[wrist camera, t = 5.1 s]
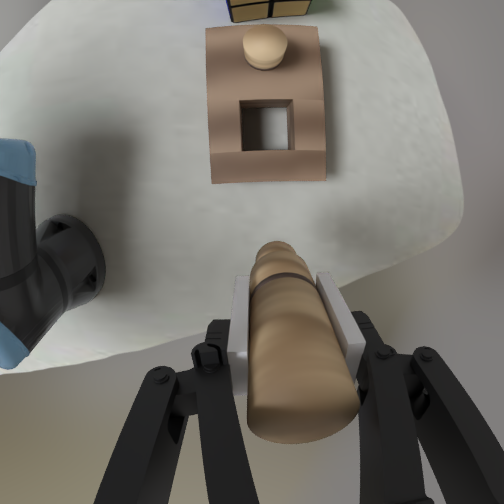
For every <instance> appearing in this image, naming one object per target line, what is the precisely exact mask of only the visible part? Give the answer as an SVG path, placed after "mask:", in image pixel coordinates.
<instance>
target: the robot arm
mask: <svg viewBox="0 0 504 504" xmlns="http://www.w3.org/2000/svg"><path fill="white" fill-rule="evenodd" d="M35 170H36V152H35V149H34V147H33V145H32V144H31V143H30V142H28V141H25V140H17V139H4V138H0V368H3V369H7V370H8V369H13V368H15V367H17V366H18V364H19V363H20V362H21V361H22V360H23V359H24V358H25V357H28V356H29V354H30V352H31V351H32V350H33V349H34V347H35V346H36V345H37V344H38V342H39V341H40V340H41V339H42V338H43V336H44V335H45V334H46V333H47V332H48V330H49V329H50V328H51V327H52V326H53V325H54V323H55V322H56V321H57V320H58V319H59V318H60V317H61V315H62V314H63V313H64V312H66V311H68V310H71V309H73V308H76V307H78V306H81V305H83V304H86V303H88V302H89V301H90V300H92V299H93V298H94V296H95V295H96V294H97V293H98V292H99V291H100V289H101V288H102V286H103V283H104V279H105V262H104V257H103V254H102V251H101V248H100V246H99V244H98V242H97V240H96V238H95V237H94V235H93V234H92V232H91V231H90V230H89V229H88V228H87V227H86V226H85V225H84V224H83V223H82V222H80V221H79V220H77V219H76V218H74V217H71V216H68V215H57V216H54V217H52V218H49V219H47V220H45V221H44V222H42V223H41V224H40V225H39V226H38V227H37V229H36V227H35V186H36V185H37V181H36V180H35ZM316 288H317V290H318V293H319V295H320V298H321V300H322V303H323V305H324V307H325V310H326V312H327V315H328V317H329V320H330V322H331V325H332V327H333V330H334V333H335V335H336V338H337V340H338V343H339V345H340V348H341V351H342V353H343V356H344V359H345V361H346V364H347V367H348V369H349V372H350V375H351V378H352V380H353V383H355V380H356V378H357V381H358V384H359V386H358V389H357V394H358V397H359V400H360V408H359V411H358V415H359V435H360V504H434V501H433V500H432V499H431V498H429V497H427V496H426V494H425V489H424V478H423V471H422V463H421V456H420V450H419V444H418V439H419V441H420V443H421V446H422V448H423V450H424V452H425V454H426V456H427V459H428V461H429V463H430V465H431V468H432V470H433V472H434V475H435V477H436V479H437V482H438V484H439V486H440V489H441V491H442V494H443V496H444V499H445V501H446V504H504V451H503V449H502V447H501V446H500V444H499V442H498V441H497V439H496V437H495V435H494V434H493V432H492V431H491V429H490V427H489V426H488V424H487V422H486V421H485V420H484V418H483V416H482V415H481V413H480V412H479V410H478V408H477V407H476V405H475V404H474V403H473V401H472V400H471V398H470V397H469V395H468V394H467V393H466V391H465V389H464V388H463V387H462V385H461V384H460V382H459V381H458V380H457V378H456V377H455V376H454V374H453V373H452V371H451V370H450V369H449V367H448V366H447V365H446V363H445V362H444V361H443V359H442V358H441V357H440V355H439V354H438V353H437V352H436V351H435V350H434V349H432V348H430V347H425V346H423V347H419V348H416V350H415V351H414V353H413V355H405V354H397V352H396V351H395V349H394V348H392V347H391V346H389V345H386V344H384V343H383V341H382V339H381V337H380V336H379V334H378V332H377V330H376V329H375V328H374V325H373V324H372V323H371V320H370V319H369V317H368V316H367V315H366V314H365V313H363V312H362V311H354V312H350V310H349V308H348V306H347V304H346V303H345V301H344V299H343V297H342V295H341V293H340V292H339V290H338V288H337V286H336V284H335V282H334V280H333V279H332V277H331V275H330V273H329V272H320V273H317V274H316ZM249 308H250V285H249V276H236V280H235V288H234V297H233V305H232V313H231V319H224V320H213V321H212V322H211V323H210V324H209V325H208V329H207V334H206V339H205V342H203V343H200V344H198V345H196V346H195V347H194V348H193V349H192V352H191V355H192V360H193V364H194V368H192V369H190V370H187V371H182V372H178V373H175V371H174V370H173V369H172V368H170V367H166V366H158V367H155V368H153V369H151V370H150V371H149V372H148V373H147V374H146V376H145V378H144V380H143V383H142V385H141V387H140V390H139V391H138V394H137V396H136V398H135V401H134V403H133V405H132V408H131V410H130V412H129V415H128V417H127V419H126V421H125V424H124V426H123V429H122V431H121V433H120V436H119V438H118V441H117V443H116V446H115V448H114V451H113V453H112V456H111V458H110V461H109V464H108V466H107V469H106V471H105V474H104V476H103V479H102V482H101V484H100V487H99V490H98V493H97V495H96V498H95V501H94V504H168V501H169V497H170V492H171V488H172V484H173V479H174V475H175V471H176V466H177V463H178V458H179V454H180V450H181V446H182V441H183V438H184V434H185V430H186V425H187V422H188V418H189V415H195V414H198V419H199V430H200V438H201V448H202V456H203V465H204V472H205V480H206V486H207V493H208V499H209V504H259V500H258V497H257V493H256V489H255V486H254V482H253V478H252V474H251V470H250V466H249V463H248V458H247V454H246V450H245V446H244V441H243V437H242V433H241V428H240V424H239V420H238V415H237V411H236V406H235V402H234V397H233V395H247V389H248V357H249ZM232 391H233V392H232ZM417 437H418V438H417Z"/></svg>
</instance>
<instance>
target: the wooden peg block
mask: <svg viewBox="0 0 504 504" xmlns="http://www.w3.org/2000/svg"><path fill="white" fill-rule="evenodd" d="M206 79H207V107H208V129H209V148H210V164H211V179H212V184H221V183H239V182H263V181H326V138H325V111H324V93H323V78H322V66H321V55H320V45H319V36H318V28H317V27H314V26H301V25H271V24H261V25H237V26H224V27H214V28H206ZM268 107H287V130H288V150H256V151H244V149H243V127H242V108H268Z"/></svg>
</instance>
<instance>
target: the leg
mask: <svg viewBox="0 0 504 504" xmlns="http://www.w3.org/2000/svg"><path fill="white" fill-rule="evenodd" d="M359 408H360V400H359V397H358V394H357V391H356V389H355V386H354V383H353V380H352V378H351V375H350V372H349V369H348V367H347V364H346V361H345V359H344V356H343V353H342V351H341V348H340V345H339V343H338V340H337V338H336V335H335V333H334V330H333V327H332V325H331V322H330V320H329V317H328V315H327V312H326V310H325V307H324V305H323V303H322V300H321V298H320V295H319V293H318V290H317V288H316V286H315V283H314V281H313V278H312V276H311V274H310V271H309V269H308V267H307V265H306V263H305V262H304V260H303V259H302V258H301V257H299V256H298V255H296V252H295V250H294V249H293V248H292V247H291V246H290V245H289V244H287V243H285V242H281V241H273V242H269V243H267V244H265V245H264V246H263V247H261V248H260V250H259V251H258V253H257V255H256V263H255V264H254V266H253V268H252V270H251V274H250V308H249V357H248V389H247V424H248V427H249V428H250V430H251V431H252V432H253V433H254V434H255V435H257V436H258V437H260V438H262V439H264V440H267V441H270V442H274V443H281V444H300V443H308V442H312V441H317V440H320V439H323V438H326V437H328V436H331V435H333V434H335V433H336V432H338V431H340V430H342V429H343V428H344V427H346V426H347V425H348V424H349V423H350V422H351V421H352V420H353V419H354V418H355V417H356V415H357V413H358V411H359Z"/></svg>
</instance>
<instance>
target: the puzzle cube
mask: <svg viewBox="0 0 504 504" xmlns="http://www.w3.org/2000/svg"><path fill="white" fill-rule="evenodd" d="M311 1H312V0H226V3H227V7H228V11H229V15H230V19H231V22H234V23H235V22H241V21H247V20H253V19H261V18H268V16H271V17H280V16H293V15H305V14H306V13H307V11H308V8H309V6H310V4H311Z"/></svg>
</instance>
